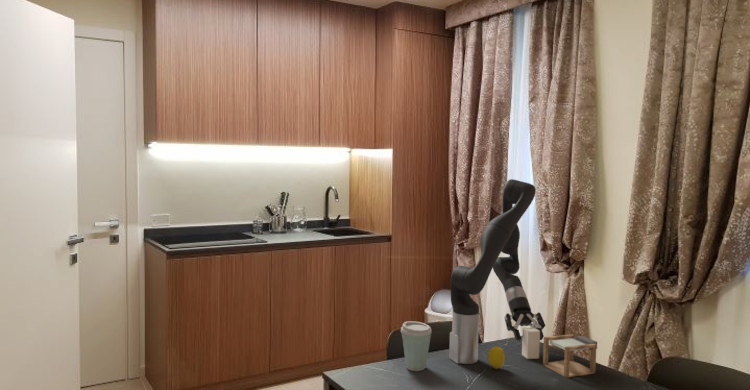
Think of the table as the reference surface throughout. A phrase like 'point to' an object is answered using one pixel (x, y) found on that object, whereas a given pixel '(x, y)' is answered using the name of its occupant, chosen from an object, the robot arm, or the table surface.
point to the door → (573, 342)
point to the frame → (569, 359)
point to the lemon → (496, 357)
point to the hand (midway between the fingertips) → (530, 339)
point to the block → (530, 343)
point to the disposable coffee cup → (416, 344)
